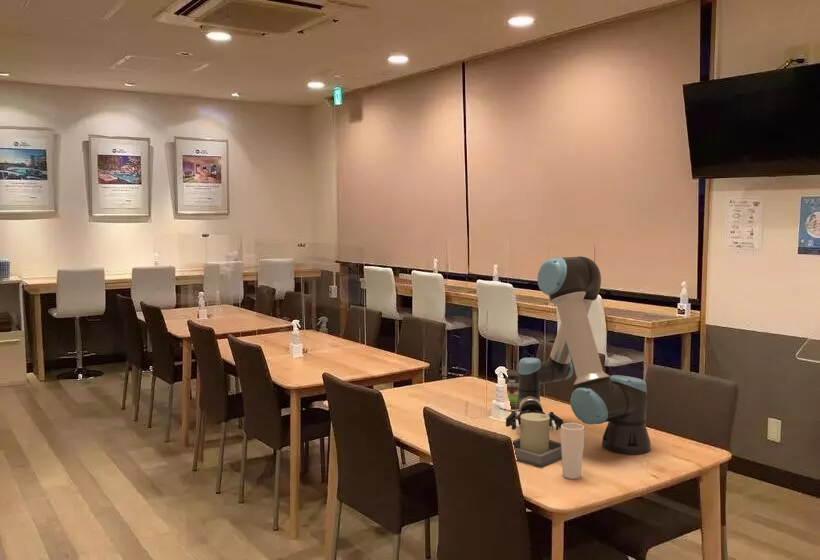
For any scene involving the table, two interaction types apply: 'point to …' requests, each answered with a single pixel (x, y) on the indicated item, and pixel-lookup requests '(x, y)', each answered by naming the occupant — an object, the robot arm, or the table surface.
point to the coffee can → (513, 388)
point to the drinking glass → (572, 449)
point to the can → (534, 433)
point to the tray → (536, 459)
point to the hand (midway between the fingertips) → (536, 430)
